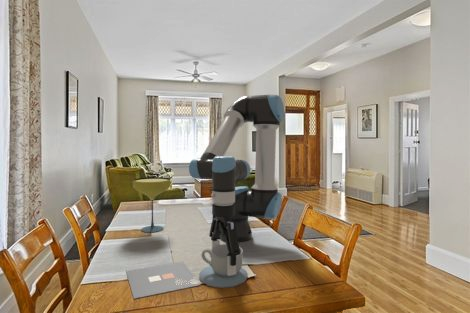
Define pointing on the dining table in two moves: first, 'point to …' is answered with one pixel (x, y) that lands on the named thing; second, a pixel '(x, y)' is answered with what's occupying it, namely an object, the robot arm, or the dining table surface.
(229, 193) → the robot arm
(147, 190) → the cocktail glass
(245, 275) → the coaster
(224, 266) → the teacup
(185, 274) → the card
